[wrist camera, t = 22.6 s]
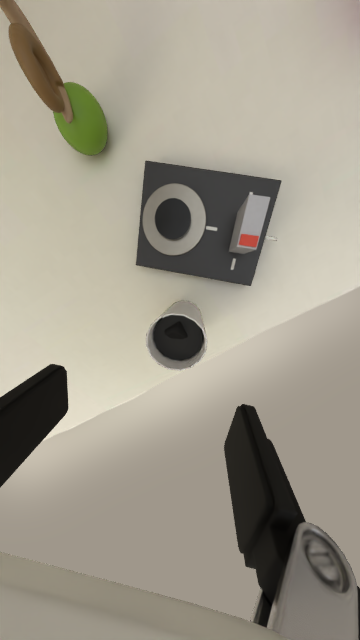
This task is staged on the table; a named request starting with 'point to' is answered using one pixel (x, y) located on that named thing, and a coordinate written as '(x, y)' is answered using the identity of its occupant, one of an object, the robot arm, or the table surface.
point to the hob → (208, 222)
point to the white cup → (177, 337)
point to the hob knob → (249, 224)
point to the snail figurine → (56, 87)
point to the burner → (174, 219)
